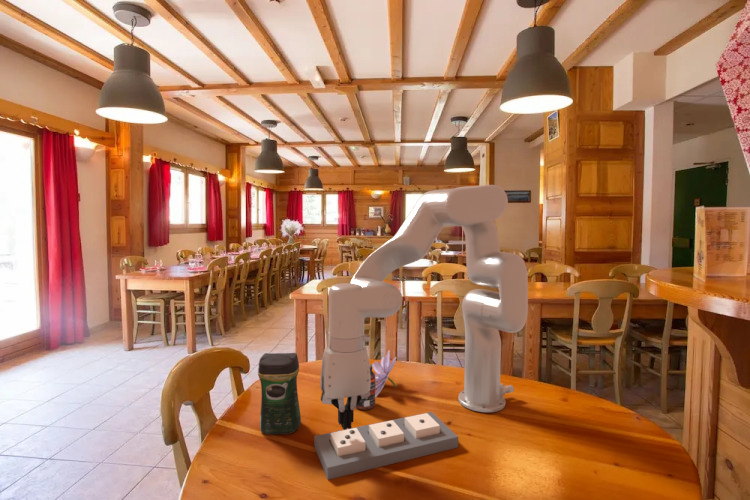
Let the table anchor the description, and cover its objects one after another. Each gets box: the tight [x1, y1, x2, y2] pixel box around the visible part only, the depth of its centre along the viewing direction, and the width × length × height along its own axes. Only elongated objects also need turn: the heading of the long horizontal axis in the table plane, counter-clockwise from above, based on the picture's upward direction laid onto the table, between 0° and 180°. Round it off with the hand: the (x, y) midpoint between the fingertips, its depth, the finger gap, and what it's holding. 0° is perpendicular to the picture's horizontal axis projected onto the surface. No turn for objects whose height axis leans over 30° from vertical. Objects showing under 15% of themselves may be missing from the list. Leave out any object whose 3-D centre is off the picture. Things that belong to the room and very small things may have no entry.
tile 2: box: [368, 419, 404, 447], centre depth 88 cm, size 6×6×3 cm
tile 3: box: [330, 427, 365, 457], centre depth 85 cm, size 6×6×3 cm
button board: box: [313, 411, 459, 481], centre depth 88 cm, size 30×12×2 cm, turn 111°
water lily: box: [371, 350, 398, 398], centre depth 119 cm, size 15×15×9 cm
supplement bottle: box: [355, 363, 376, 411], centre depth 107 cm, size 6×6×11 cm
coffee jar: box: [257, 352, 302, 435], centre depth 96 cm, size 10×8×19 cm
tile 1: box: [405, 412, 440, 439], centre depth 91 cm, size 6×6×3 cm
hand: (345, 426), depth 84 cm, fingers closed
